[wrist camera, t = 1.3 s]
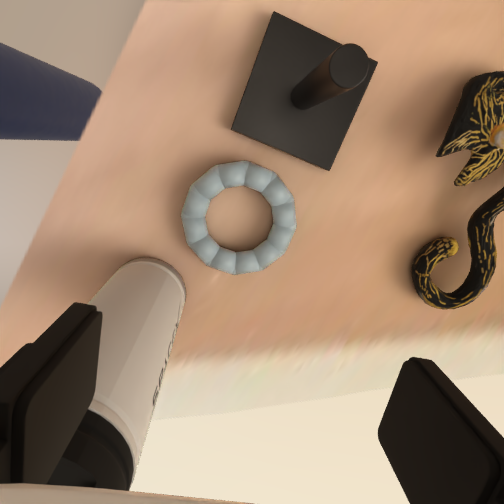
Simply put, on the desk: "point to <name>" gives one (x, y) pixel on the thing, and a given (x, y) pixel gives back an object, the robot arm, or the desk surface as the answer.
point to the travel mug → (125, 374)
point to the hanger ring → (233, 177)
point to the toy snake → (479, 166)
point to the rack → (303, 92)
